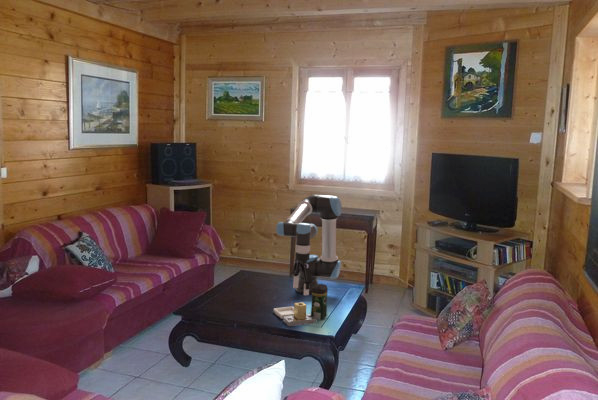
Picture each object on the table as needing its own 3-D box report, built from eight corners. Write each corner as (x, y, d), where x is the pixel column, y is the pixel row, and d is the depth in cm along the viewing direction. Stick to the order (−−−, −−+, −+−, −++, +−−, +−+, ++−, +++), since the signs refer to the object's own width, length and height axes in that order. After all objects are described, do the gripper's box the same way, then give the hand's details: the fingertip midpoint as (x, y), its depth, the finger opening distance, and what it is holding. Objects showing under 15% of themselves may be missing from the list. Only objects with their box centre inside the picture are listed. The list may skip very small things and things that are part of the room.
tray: (292, 310, 298) (292, 306, 298) (300, 316, 287) (300, 312, 287) (273, 312, 293) (273, 308, 293) (281, 319, 283) (281, 315, 282)
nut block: (302, 320, 283) (302, 301, 281) (305, 323, 278) (306, 304, 277) (293, 321, 281) (294, 302, 279) (297, 324, 276) (298, 305, 275)
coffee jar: (315, 313, 293) (316, 281, 291) (328, 316, 290) (329, 284, 288) (308, 318, 285) (309, 286, 282) (321, 321, 281) (323, 288, 279)
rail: (309, 317, 286) (310, 313, 286) (316, 322, 279) (316, 318, 279) (283, 321, 280) (283, 316, 279) (288, 326, 272) (289, 321, 272)
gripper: (286, 247, 284) (285, 285, 287) (306, 258, 262) (304, 298, 264) (299, 247, 287) (297, 284, 290) (319, 257, 265) (317, 297, 267)
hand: (300, 291), depth 277 cm, fingers open, 13 cm apart
